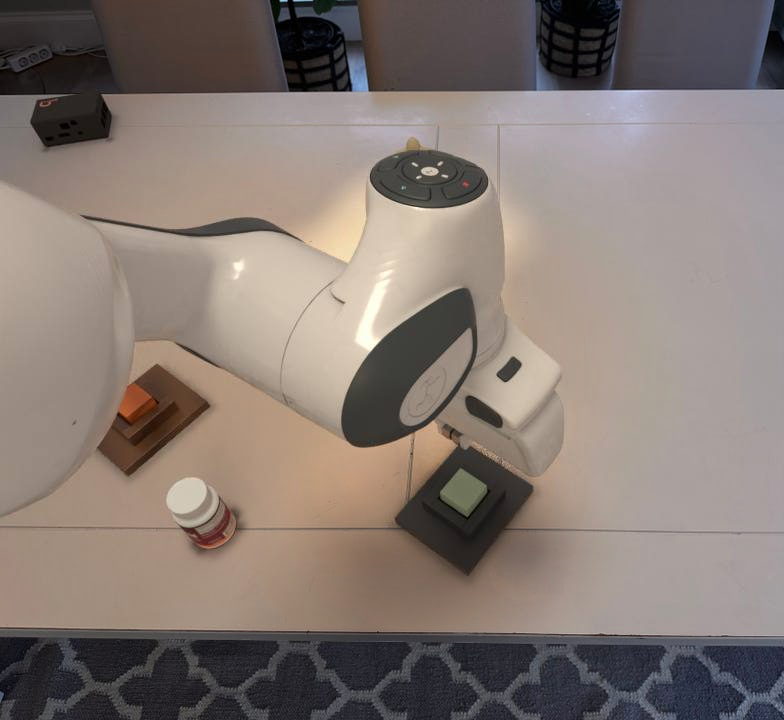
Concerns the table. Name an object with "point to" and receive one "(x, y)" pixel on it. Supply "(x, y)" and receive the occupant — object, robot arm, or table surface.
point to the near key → (463, 492)
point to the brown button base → (152, 420)
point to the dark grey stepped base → (451, 528)
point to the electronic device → (71, 118)
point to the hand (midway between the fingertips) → (457, 436)
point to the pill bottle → (200, 512)
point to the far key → (136, 404)
